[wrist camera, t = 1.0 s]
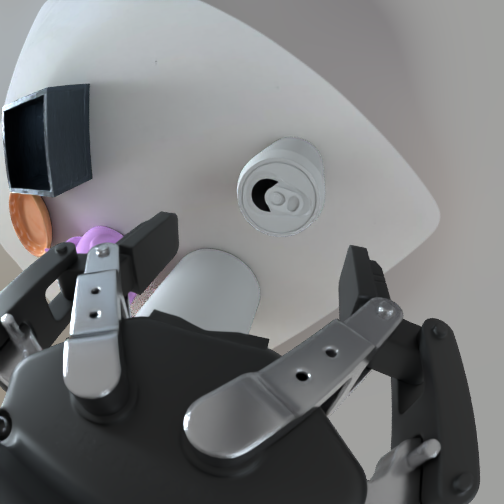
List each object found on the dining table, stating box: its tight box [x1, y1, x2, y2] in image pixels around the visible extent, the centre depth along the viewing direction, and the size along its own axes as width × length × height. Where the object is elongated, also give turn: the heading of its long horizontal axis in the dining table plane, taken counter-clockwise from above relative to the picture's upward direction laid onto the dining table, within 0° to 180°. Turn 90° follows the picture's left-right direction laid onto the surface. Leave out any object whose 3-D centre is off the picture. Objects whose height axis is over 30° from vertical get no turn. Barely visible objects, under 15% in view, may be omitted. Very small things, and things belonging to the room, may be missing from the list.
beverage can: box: [237, 137, 326, 237], centre depth 23 cm, size 6×6×12 cm
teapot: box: [45, 226, 137, 317], centre depth 37 cm, size 12×14×9 cm
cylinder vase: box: [135, 249, 260, 334], centre depth 28 cm, size 12×12×25 cm
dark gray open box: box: [2, 84, 92, 197], centre depth 29 cm, size 15×15×8 cm
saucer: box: [9, 192, 52, 257], centre depth 41 cm, size 16×16×3 cm
